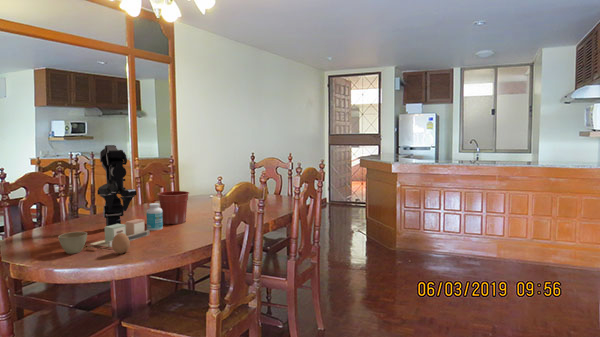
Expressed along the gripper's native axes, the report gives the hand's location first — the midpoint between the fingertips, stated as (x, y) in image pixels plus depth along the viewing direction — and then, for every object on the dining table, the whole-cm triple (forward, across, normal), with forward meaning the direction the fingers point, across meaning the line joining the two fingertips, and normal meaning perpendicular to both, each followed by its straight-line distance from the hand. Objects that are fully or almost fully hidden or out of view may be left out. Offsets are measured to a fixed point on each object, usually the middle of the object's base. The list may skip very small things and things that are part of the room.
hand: (117, 210), depth 186 cm
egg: (+12, +24, -21) cm, 34 cm away
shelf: (+12, +10, -8) cm, 18 cm away
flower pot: (+12, +4, +34) cm, 36 cm away
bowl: (+12, +5, -27) cm, 30 cm away
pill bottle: (+12, +9, +14) cm, 21 cm away
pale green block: (+11, +11, -12) cm, 20 cm away
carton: (+11, +12, -1) cm, 16 cm away
